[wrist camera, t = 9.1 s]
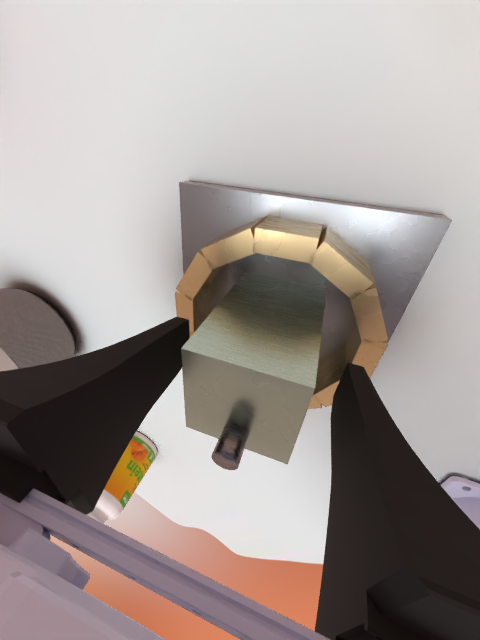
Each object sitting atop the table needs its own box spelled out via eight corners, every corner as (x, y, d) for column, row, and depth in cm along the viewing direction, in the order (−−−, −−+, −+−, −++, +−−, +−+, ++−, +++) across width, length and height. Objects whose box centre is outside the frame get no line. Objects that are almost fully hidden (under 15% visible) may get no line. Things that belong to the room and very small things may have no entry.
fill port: (443, 215, 11) (479, 235, 8) (351, 399, 18) (353, 445, 15) (188, 180, 13) (148, 187, 11) (193, 352, 20) (170, 383, 17)
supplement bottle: (165, 458, 32) (108, 554, 24) (133, 452, 34) (72, 538, 27) (146, 430, 30) (78, 527, 22) (114, 425, 32) (41, 512, 24)
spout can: (326, 289, 13) (311, 422, 7) (307, 353, 16) (281, 497, 9) (245, 271, 14) (160, 372, 8) (238, 335, 17) (171, 452, 10)
